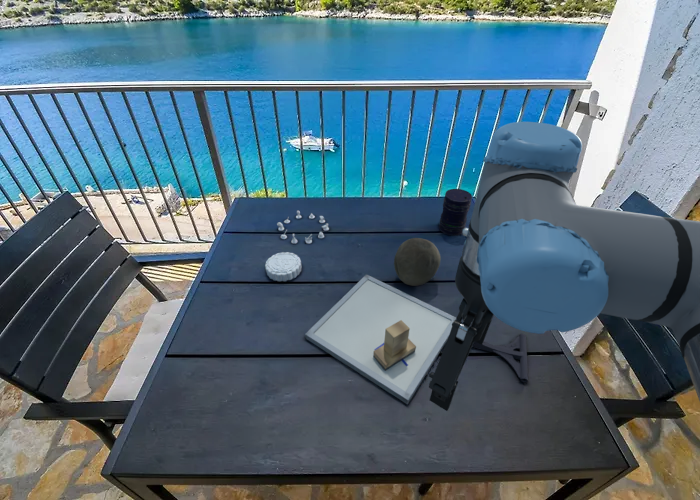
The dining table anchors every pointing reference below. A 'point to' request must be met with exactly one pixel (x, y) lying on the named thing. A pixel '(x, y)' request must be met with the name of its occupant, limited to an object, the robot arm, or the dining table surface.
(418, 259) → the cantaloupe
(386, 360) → the eraser
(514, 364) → the bracket
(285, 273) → the mooncake
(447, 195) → the storage jar
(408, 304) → the board
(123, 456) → the dining table surface
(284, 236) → the game piece set
